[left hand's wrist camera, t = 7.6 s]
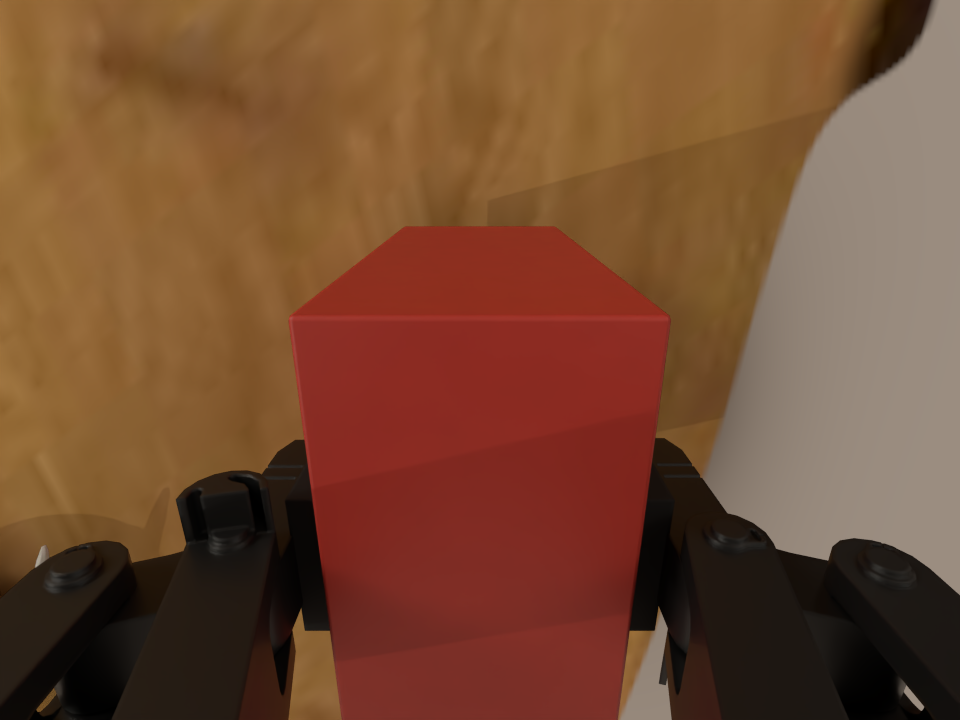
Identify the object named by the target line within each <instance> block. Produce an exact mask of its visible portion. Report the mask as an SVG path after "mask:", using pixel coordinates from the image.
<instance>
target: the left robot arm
mask: <svg viewBox="0 0 960 720" xmlns="http://www.w3.org/2000/svg"><path fill="white" fill-rule="evenodd" d="M176 502H177V506H178V511H179V515H180V519H181V523H182V527H183V531H184V535H185V539H186V546H185V549H184V551H182V552H179V553H175V554H172V555H167V556H163V557H158V558H153V559H149V560H144V561H139V562H134V563H132V562H131V558H130V555H129V551H128V549H127V548H126V547H125V546H123V545H122V544H121V543H118V542H112V541H99V542H90V543H86V544H81V545H79V546H74V547H72V548H69V549H66V550H64V551H63V552H61V553H59V554H57V555H54V556H52V557H50V558H48V559H47V560H45V561H44V562H43V563H41V564H40V565H38V566H37V567H36V568H34V569H33V570H31V571H30V572H29V573H28V574H27V575H26V576H25V577H24V578H22V579H21V580H20V581H19V582H18V583H17V584H16V585H15V586H13V587H12V588H11V589H10V590H9V591H8V592H7V593H6V594H5V595H3V596H2V597H1V598H0V720H288V718H289V708H290V699H291V690H292V680H293V671H294V662H295V652H296V650H295V644H294V637H293V631H292V629H293V627H294V624H295V622H296V619H297V617H298V614H299V612H300V609H301V608H302V615H303V621H304V627H305V631H330V627H329V619H328V612H327V604H326V597H325V589H324V582H323V574H322V567H321V559H320V552H319V544H318V537H317V529H316V522H315V514H314V507H313V499H312V492H311V484H310V477H309V469H308V462H307V454H306V447H305V440H295V441H293V442H292V443H290V444H289V445H287V446H286V447H284V448H283V449H281V450H280V451H278V452H277V454H276V455H275V457H274V458H273V459H272V461H271V462H270V464H269V465H268V468H266V469H265V471H264V472H263V473H262V475H261V474H260V473H256V472H252V471H228V472H224V473H219V474H214V475H212V476H209V477H207V478H204V479H202V480H199V481H197V482H196V483H194V484H192V485H191V486H189V487H188V488H186V489H185V490H184V491H183V492H182V493H181V494H180V495H179V497H178V498H177V499H176ZM658 606H659V608H660V610H661V613H662V615H663V617H664V620H665V622H666V625H667V627H668V631H667V637H666V643H665V649H664V655H663V661H662V667H661V673H660V680H659V684H663V685H666V681H667V679H668V688H669V698H670V707H671V717H672V720H960V595H959V594H958V593H957V592H955V591H954V590H953V589H952V588H951V587H950V586H949V585H948V584H946V583H945V582H944V581H943V580H942V579H941V578H940V577H939V576H937V575H936V574H935V573H934V572H933V571H932V570H931V569H930V568H928V567H927V566H925V565H924V564H923V563H921V562H920V561H918V560H917V559H916V558H914V557H913V556H911V555H909V554H907V553H905V552H903V551H900V550H898V549H896V548H895V547H893V546H890V545H887V544H882V543H881V542H876V541H872V540H864V539H856V538H853V539H846V540H840V541H839V542H838V543H836V544H835V545H834V546H833V547H832V550H831V553H830V557H829V560H828V561H827V560H822V559H817V558H812V557H808V556H803V555H798V554H793V553H789V552H785V551H782V550H778V549H776V548H775V546H774V543H773V542H772V541H771V539H770V538H769V536H768V535H767V534H766V532H764V531H763V530H762V529H760V528H759V527H758V526H756V525H755V524H754V523H752V522H750V521H748V520H745V519H743V518H741V517H739V516H736V515H732V514H728V513H727V512H726V511H725V509H724V508H723V507H722V505H721V504H720V502H719V501H718V500H717V498H716V497H715V496H714V494H713V493H712V491H711V490H710V488H709V487H708V486H707V484H706V483H705V481H704V480H703V479H702V478H700V474H699V473H698V472H697V470H696V469H695V468H694V466H692V463H691V462H690V461H689V459H688V458H687V456H686V455H685V454H684V452H683V451H682V450H681V449H680V448H678V447H677V446H675V445H674V444H672V443H671V442H669V441H668V440H666V439H665V438H655V443H654V450H653V458H652V465H651V473H650V480H649V488H648V495H647V503H646V510H645V518H644V525H643V533H642V541H641V548H640V556H639V563H638V571H637V578H636V586H635V593H634V601H633V608H632V616H631V623H630V631H655V625H656V619H657V612H658ZM906 685H907V686H908V687H909V689H910V690H911V691H912V692H913V693H914V695H915V696H916V697H917V698H918V700H919V701H920V702H921V703H922V704H923V706H924V709H923V710H922V711H920V710H919V709H918V708H917V707H916V706H915V705H914V704H913V703H912V702H911V701H910V699H909V698H908V697H907V696H906V695H905V693H904V689H905V687H906ZM53 688H55V691H56V693H57V695H56V696H55V697H54V698H53V700H52V701H51V702H50V703H49V704H48V706H46V707H45V708H44V709H43V710H42V711H41V712H40V713H38V712H37V710H36V709H37V708H38V707H39V705H40V704H41V703H42V702H43V700H44V699H45V698H46V697H47V696H48V694H49V693H50V692H51V691H52V690H53Z"/></svg>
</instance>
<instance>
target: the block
mask: <svg viewBox="0 0 960 720" xmlns="http://www.w3.org/2000/svg"><path fill="white" fill-rule="evenodd" d="M670 323H671V319H670V316H669V315H668V314H666V313H665V312H664V311H663V310H661V309H660V308H659V307H657V306H656V305H655V304H654V303H652V302H651V301H650V300H649V299H647V298H646V297H645V296H643V295H642V294H641V293H640V292H638V291H637V290H636V289H634V288H633V287H632V286H631V285H629V284H628V283H627V282H625V281H624V280H623V279H622V278H620V277H619V276H618V275H616V274H615V273H614V272H613V271H611V270H610V269H609V268H607V267H606V266H605V265H604V264H602V263H601V262H600V261H598V260H597V259H596V258H595V257H593V256H592V255H591V254H589V253H588V252H587V251H586V250H584V249H583V248H582V247H581V246H579V245H578V244H577V243H575V242H574V241H573V240H572V239H570V238H569V237H568V236H566V235H565V234H564V233H563V232H561V231H560V230H559V229H557V228H556V227H404V228H402V229H401V230H400V231H398V232H397V233H396V234H395V235H393V236H392V237H391V238H389V239H388V240H387V241H386V242H384V243H383V244H382V245H380V246H379V247H378V248H377V249H375V250H374V251H373V252H371V253H370V254H369V255H368V256H366V257H365V258H364V259H362V260H361V261H360V262H359V263H357V264H356V265H355V266H353V267H352V268H351V269H350V270H348V271H347V272H346V273H344V274H343V275H342V276H341V277H339V278H338V279H337V280H335V281H334V282H333V283H332V284H330V285H329V286H328V287H326V288H325V289H324V290H323V291H321V292H320V293H319V294H317V295H316V296H315V297H314V298H312V299H311V300H310V301H308V302H307V303H306V304H305V305H303V306H302V307H301V308H299V309H298V310H297V311H296V312H294V313H293V314H292V315H290V317H289V327H290V335H291V342H292V350H293V357H294V365H295V372H296V379H297V387H298V394H299V402H300V409H301V417H302V424H303V432H304V439H305V447H306V454H307V462H308V469H309V477H310V484H311V492H312V499H313V507H314V514H315V522H316V529H317V537H318V544H319V552H320V559H321V567H322V574H323V582H324V589H325V597H326V604H327V612H328V619H329V627H330V634H331V642H332V649H333V657H334V664H335V672H336V679H337V686H338V694H339V701H340V709H341V716H342V720H618V713H619V706H620V698H621V691H622V683H623V676H624V668H625V661H626V653H627V646H628V638H629V631H630V623H631V616H632V608H633V601H634V593H635V586H636V578H637V571H638V563H639V556H640V548H641V541H642V533H643V525H644V518H645V510H646V503H647V495H648V488H649V480H650V473H651V465H652V458H653V450H654V443H655V435H656V428H657V420H658V413H659V405H660V398H661V390H662V383H663V375H664V368H665V360H666V353H667V345H668V338H669V330H670Z"/></svg>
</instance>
